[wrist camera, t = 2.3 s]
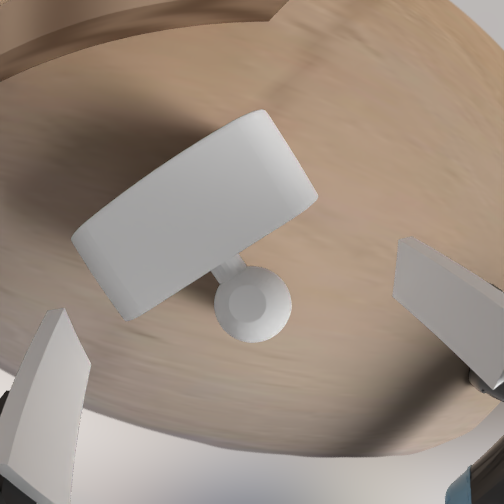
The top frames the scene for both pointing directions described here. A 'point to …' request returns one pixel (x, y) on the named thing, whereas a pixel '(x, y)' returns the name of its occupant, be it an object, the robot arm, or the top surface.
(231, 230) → the white knobbed block
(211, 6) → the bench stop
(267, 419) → the top surface
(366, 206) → the top surface
